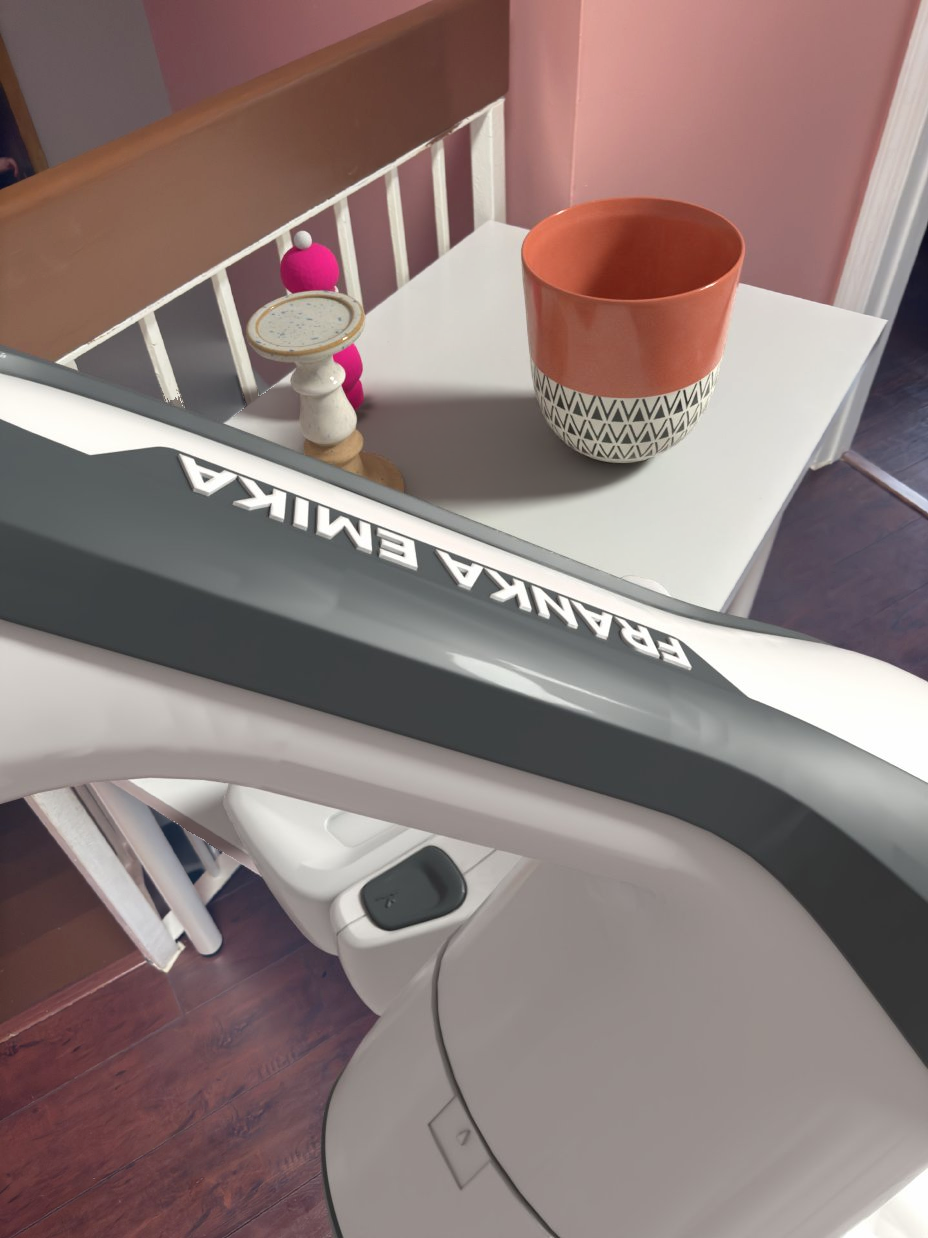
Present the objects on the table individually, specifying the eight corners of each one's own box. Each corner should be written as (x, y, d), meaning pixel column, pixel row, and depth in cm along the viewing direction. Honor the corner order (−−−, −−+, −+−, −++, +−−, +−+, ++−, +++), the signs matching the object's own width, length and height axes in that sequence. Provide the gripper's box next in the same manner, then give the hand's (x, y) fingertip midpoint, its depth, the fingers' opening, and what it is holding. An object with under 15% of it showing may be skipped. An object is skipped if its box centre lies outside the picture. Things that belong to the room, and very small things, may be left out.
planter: (496, 474, 94) (483, 278, 78) (569, 373, 105) (571, 184, 89) (679, 522, 87) (705, 318, 71) (737, 409, 98) (771, 211, 82)
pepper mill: (380, 392, 106) (351, 222, 91) (343, 426, 102) (306, 254, 87) (332, 377, 109) (296, 210, 94) (293, 409, 105) (249, 240, 90)
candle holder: (306, 457, 99) (261, 282, 84) (416, 463, 96) (390, 284, 82) (270, 534, 91) (212, 356, 76) (389, 543, 89) (354, 361, 74)
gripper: (808, 675, 33) (587, 478, 42) (298, 974, 27) (160, 674, 36) (778, 769, 38) (584, 575, 46) (336, 1042, 32) (206, 763, 40)
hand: (396, 620), depth 41 cm, fingers open, 8 cm apart
